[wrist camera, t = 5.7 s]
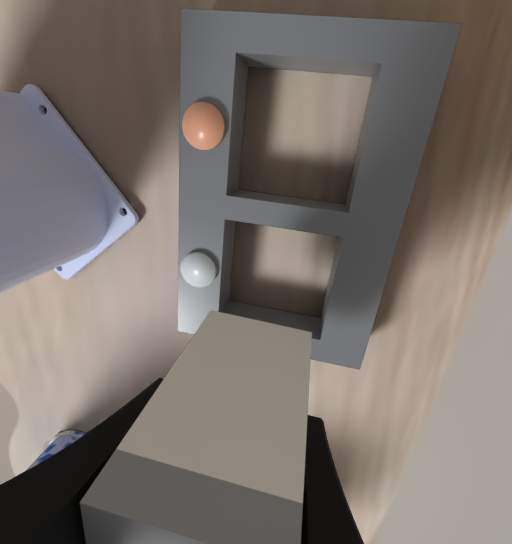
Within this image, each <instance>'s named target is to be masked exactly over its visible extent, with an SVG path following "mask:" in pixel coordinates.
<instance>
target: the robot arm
mask: <svg viewBox="0 0 512 544" xmlns="http://www.w3.org/2000/svg"><path fill="white" fill-rule="evenodd" d="M45 107H46V109H47V113H45V111H44V108H45ZM123 208H125V209H126V211H127V215H126V214H124V212H123ZM138 221H139V217H138V214H137V213H136V211H135V210H134V209H133V208H132V206H131V205H130V204H129V202H128V201H127V200H126V199H125V197H124V196H123V195H122V193H121V192H120V191H119V190H118V188H117V187H116V186H115V184H114V183H113V182H112V181H111V179H110V178H109V177H108V175H107V174H106V173H105V172H104V170H103V169H102V168H101V166H100V165H99V164H98V163H97V161H96V160H95V159H94V157H93V156H92V155H91V154H90V152H89V151H88V150H87V148H86V147H85V146H84V145H83V143H82V142H81V141H80V139H79V138H78V137H77V136H76V134H75V133H74V132H73V130H72V129H71V128H70V127H69V125H68V124H67V123H66V121H65V120H64V119H63V118H62V116H61V115H60V114H59V112H58V111H57V110H56V109H55V107H54V106H53V105H52V103H51V102H50V101H49V100H48V98H47V97H46V96H45V94H44V93H43V92H42V91H41V89H40V88H39V87H38V86H36V85H32V84H27V85H25V86H24V87H23V89H22V90H21V92H20V93H19V94H18V93H13V92H7V91H2V90H0V293H1V292H3V291H5V290H8V289H10V288H12V287H14V286H17V285H19V284H21V283H23V282H26V281H28V280H30V279H32V278H34V277H37V276H39V275H41V274H43V273H46V272H48V271H50V270H52V269H54V270H55V271H56V272H57V273H58V275H59V276H60V277H61V278H63V279H65V280H68V279H70V278H72V277H73V276H75V275H76V274H77V273H78V272H80V271H81V270H82V269H83V268H84V267H86V266H87V265H88V264H89V263H90V262H92V261H93V260H94V259H95V258H96V257H98V256H99V255H100V254H101V253H103V252H104V251H105V250H106V249H107V248H109V247H110V246H111V245H112V244H113V243H115V242H116V241H117V240H118V239H119V238H121V237H122V236H123V235H124V234H125V233H127V232H128V231H129V230H130V229H132V228H133V227H134V226H135V225H136V224H137V223H138ZM60 266H61V267H62V268H61V267H60ZM163 380H164V379H162V378H159V379H157V380H156V381H155V382H154V383H152V384H151V385H150V386H149V387H147V388H146V389H145V390H144V391H142V392H141V393H140V394H139V395H137V396H136V397H135V398H134V399H132V400H131V401H130V402H128V403H127V404H126V405H125V406H123V407H122V408H121V409H119V410H118V411H117V412H115V413H114V414H113V415H111V416H110V417H109V418H107V419H106V420H105V421H103V422H102V423H100V424H99V425H98V426H96V427H95V428H93V429H92V430H90V431H89V432H87V433H86V434H85V435H83V436H82V437H80V438H79V439H77V440H76V441H74V442H73V443H71V444H70V445H68V446H67V447H65V448H64V449H62V450H60V451H59V452H57V453H56V454H54V455H52V456H51V457H49V458H47V459H46V460H44V461H42V462H41V463H39V464H37V465H36V466H34V467H32V468H30V469H28V470H27V471H25V472H23V473H21V474H19V475H18V476H16V477H14V478H13V479H11V480H9V481H7V482H5V483H3V484H1V485H0V544H86V541H85V534H84V528H83V521H82V515H81V508H80V501H81V500H82V498H83V497H84V496H85V494H86V493H87V491H88V490H89V488H90V487H91V485H92V484H93V482H94V481H95V479H96V478H97V476H98V475H99V474H100V472H101V471H102V469H103V468H104V466H105V465H106V463H107V462H108V460H109V459H110V457H111V456H112V454H113V453H114V452H115V450H116V449H117V447H118V446H119V444H120V443H121V441H122V440H123V438H124V437H125V435H126V434H127V432H128V431H129V429H130V428H131V427H132V425H133V424H134V422H135V421H136V419H137V418H138V416H139V415H140V413H141V412H142V410H143V409H144V407H145V406H146V405H147V403H148V402H149V400H150V399H151V397H152V396H153V394H154V393H155V391H156V390H157V388H158V387H159V385H160V384H161V383H162V381H163ZM301 544H364V543H363V540H362V538H361V536H360V533H359V531H358V528H357V526H356V523H355V521H354V518H353V516H352V513H351V511H350V508H349V506H348V503H347V500H346V497H345V495H344V492H343V489H342V486H341V483H340V480H339V477H338V474H337V471H336V468H335V465H334V462H333V459H332V455H331V452H330V448H329V444H328V440H327V436H326V432H325V427H324V422H323V420H322V419H321V418H318V417H314V416H310V415H308V416H307V435H306V454H305V473H304V492H303V511H302V530H301Z"/></svg>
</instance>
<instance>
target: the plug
mask: <svg viewBox="0 0 512 544" xmlns="http://www.w3.org/2000/svg"><path fill="white" fill-rule="evenodd" d="M311 340H312V332H308V331H304V330H299V329H295V328H290V327H286V326H281V325H276V324H272V323H267V322H263V321H258V320H254V319H249V318H245V317H240V316H235V315H231V314H226V313H222V312H217V311H213V310H211V311H210V312H209V314H208V315H207V316H206V318H205V319H204V321H203V322H202V324H201V325H200V327H199V328H198V330H197V331H196V333H195V334H194V336H193V337H192V338H191V340H190V341H189V343H188V344H187V346H186V347H185V349H184V350H183V352H182V353H181V355H180V356H179V358H178V359H177V360H176V362H175V363H174V365H173V366H172V368H171V369H170V371H169V372H168V374H167V375H166V377H165V378H164V380H163V381H162V383H161V384H160V385H159V387H158V388H157V390H156V391H155V393H154V394H153V396H152V397H151V399H150V400H149V402H148V403H147V405H146V406H145V407H144V409H143V410H142V412H141V413H140V415H139V416H138V418H137V419H136V421H135V422H134V424H133V425H132V427H131V428H130V429H129V431H128V432H127V434H126V435H125V437H124V438H123V440H122V441H121V443H120V444H119V446H118V447H117V449H116V450H115V452H114V453H113V454H112V456H111V457H110V459H109V460H108V462H107V463H106V465H105V466H104V468H103V469H102V471H101V472H100V474H99V475H98V476H97V478H96V479H95V481H94V482H93V484H92V485H91V487H90V488H89V490H88V491H87V493H86V494H85V496H84V497H83V498H82V500H81V501H80V508H81V515H82V521H83V528H84V534H85V541H86V544H301V530H302V511H303V492H304V473H305V454H306V435H307V416H308V397H309V378H310V359H311Z"/></svg>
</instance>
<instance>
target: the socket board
mask: <svg viewBox="0 0 512 544" xmlns="http://www.w3.org/2000/svg"><path fill="white" fill-rule="evenodd" d="M461 26H462V23H443V22H425V21H406V20H388V19H369V18H351V17H332V16H314V15H295V14H277V13H258V12H240V11H221V10H203V9H184V8H181V38H180V146H179V254H178V331H180V332H185V333H190V334H195V333H196V331H197V330H198V328H199V327H200V325H201V324H202V322H203V321H204V319H205V318H206V316H207V315H208V314H209V312H210V311H211V310H213V311H217V312H222V313H226V314H231V315H235V316H240V317H245V318H249V319H254V320H258V321H263V322H267V323H272V324H276V325H281V326H286V327H290V328H295V329H299V330H304V331H308V332H312V340H311V359H312V360H317V361H322V362H326V363H331V364H336V365H340V366H345V367H350V368H354V369H359V370H360V368H361V364H362V361H363V358H364V354H365V351H366V348H367V344H368V341H369V337H370V334H371V331H372V327H373V324H374V321H375V317H376V314H377V310H378V307H379V304H380V300H381V297H382V293H383V290H384V287H385V283H386V280H387V277H388V273H389V270H390V266H391V263H392V260H393V256H394V253H395V250H396V246H397V243H398V239H399V236H400V233H401V229H402V226H403V222H404V219H405V216H406V212H407V209H408V206H409V202H410V199H411V195H412V192H413V189H414V185H415V182H416V179H417V175H418V172H419V168H420V165H421V162H422V158H423V155H424V151H425V148H426V145H427V141H428V138H429V135H430V131H431V128H432V124H433V121H434V118H435V114H436V111H437V108H438V104H439V101H440V97H441V94H442V91H443V87H444V84H445V80H446V77H447V74H448V70H449V67H450V64H451V60H452V57H453V53H454V50H455V47H456V43H457V40H458V37H459V33H460V30H461ZM249 67H259V68H271V69H284V70H296V71H309V72H321V73H334V74H346V75H359V76H371V77H373V78H372V83H371V87H370V92H369V97H368V101H367V106H366V110H365V115H364V120H363V124H362V129H361V134H360V138H359V143H358V147H357V152H356V157H355V161H354V166H353V171H352V175H351V180H350V184H349V189H348V194H347V198H346V203H345V204H339V203H331V202H324V201H317V200H310V199H303V198H295V197H288V196H281V195H274V194H267V193H259V192H252V191H245V190H239V179H240V167H241V155H242V143H243V131H244V118H245V106H246V94H247V82H248V70H249ZM236 221H239V222H246V223H252V224H259V225H265V226H272V227H278V228H285V229H291V230H298V231H304V232H311V233H317V234H324V235H330V236H337V237H338V240H337V244H336V249H335V254H334V258H333V263H332V268H331V272H330V277H329V281H328V286H327V291H326V295H325V300H324V305H323V309H322V314H321V318H318V317H313V316H308V315H302V314H297V313H292V312H287V311H282V310H277V309H271V308H266V307H261V306H256V305H251V304H245V303H240V302H235V301H230V289H231V277H232V264H233V252H234V240H235V228H236Z"/></svg>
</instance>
